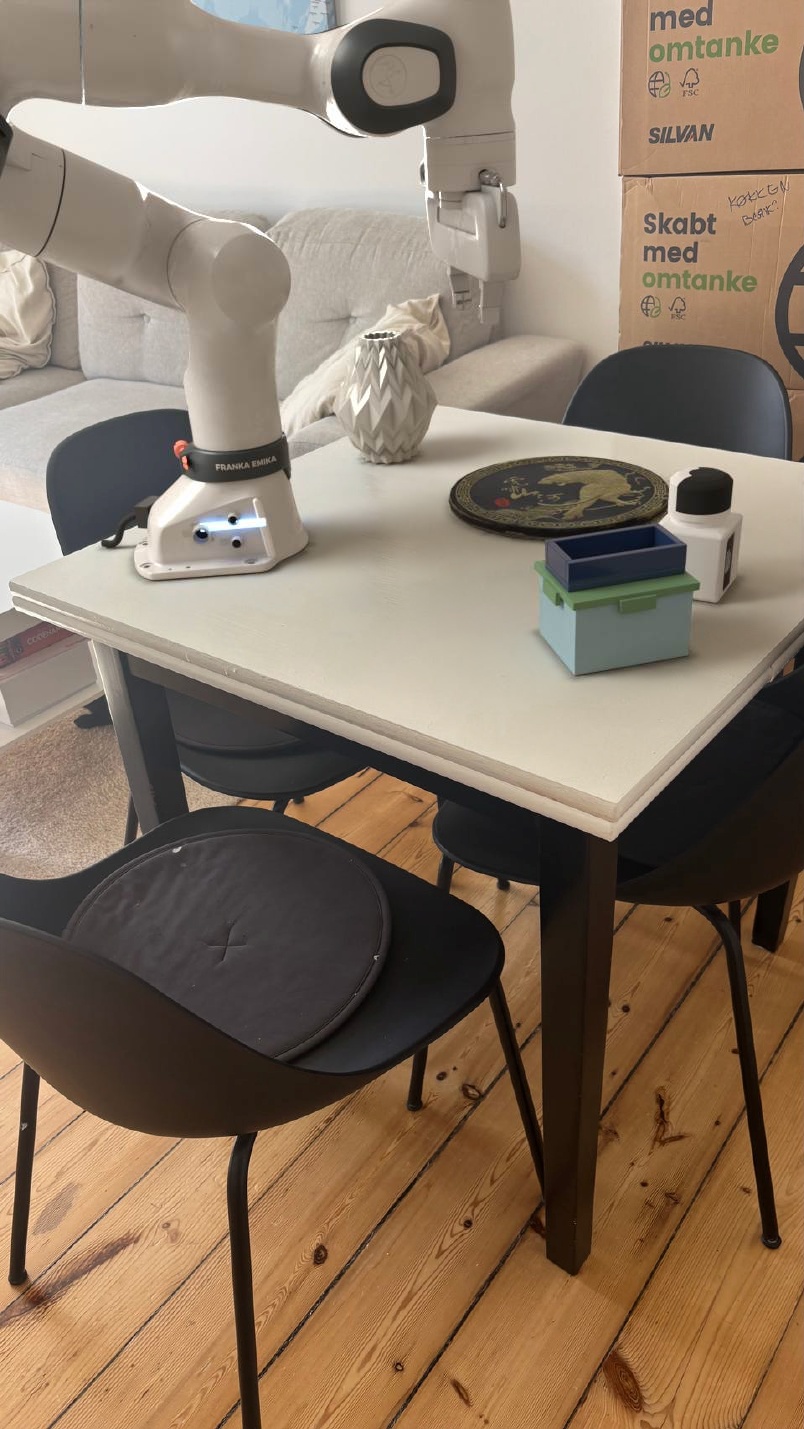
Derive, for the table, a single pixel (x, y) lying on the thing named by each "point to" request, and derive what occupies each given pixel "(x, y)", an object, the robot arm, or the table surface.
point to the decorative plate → (558, 497)
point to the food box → (616, 621)
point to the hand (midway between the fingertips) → (475, 316)
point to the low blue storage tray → (615, 557)
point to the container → (705, 528)
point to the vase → (384, 399)
